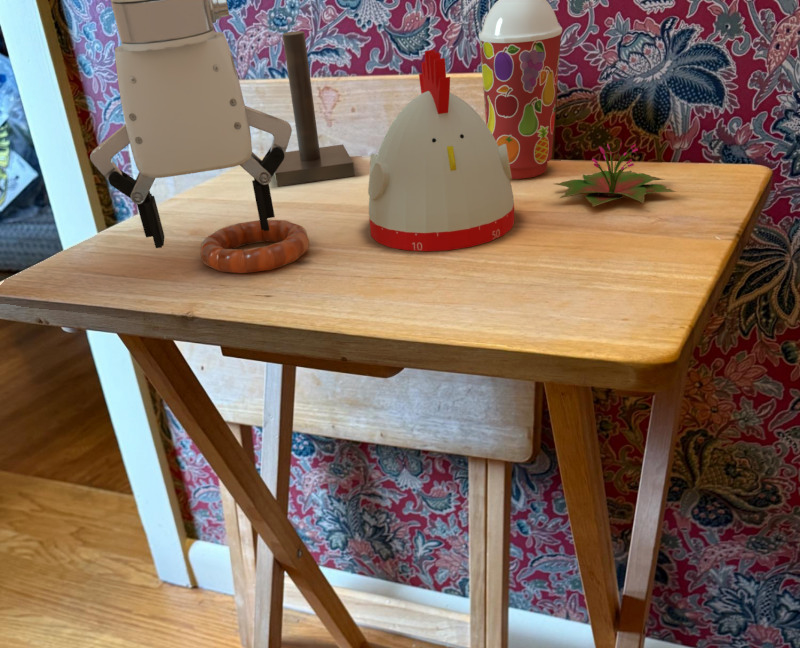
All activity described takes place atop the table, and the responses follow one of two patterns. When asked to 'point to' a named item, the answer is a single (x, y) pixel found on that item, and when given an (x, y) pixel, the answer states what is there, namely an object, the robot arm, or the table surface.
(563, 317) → the table surface
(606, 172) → the lily flower
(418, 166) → the kitchen timer
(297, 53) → the peg stand
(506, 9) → the smoothie
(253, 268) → the ring
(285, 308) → the table surface
